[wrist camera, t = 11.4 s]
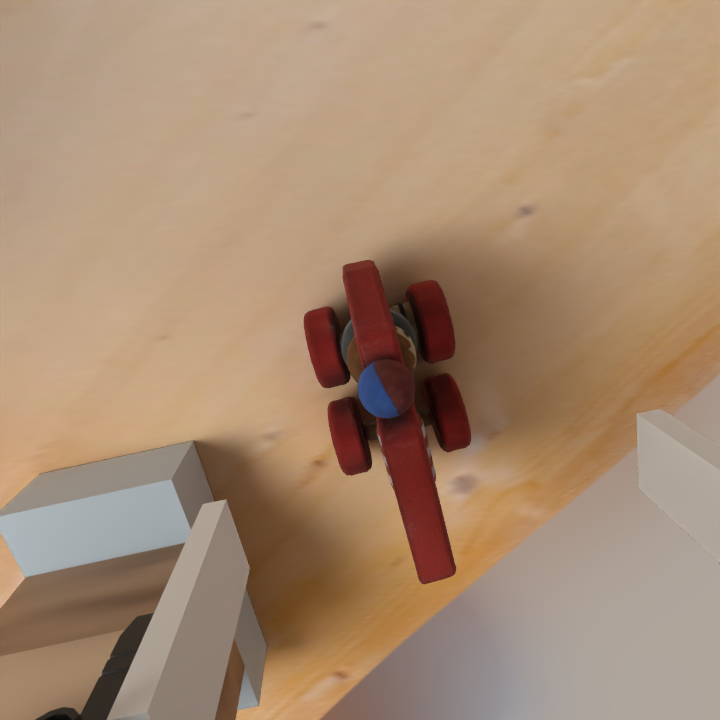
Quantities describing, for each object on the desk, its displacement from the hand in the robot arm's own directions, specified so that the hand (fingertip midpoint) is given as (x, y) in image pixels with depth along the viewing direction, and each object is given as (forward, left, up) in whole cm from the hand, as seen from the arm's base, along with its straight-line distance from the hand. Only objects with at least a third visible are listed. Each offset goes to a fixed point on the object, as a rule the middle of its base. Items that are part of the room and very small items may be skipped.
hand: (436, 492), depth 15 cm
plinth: (+10, -16, -12) cm, 22 cm away
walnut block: (+10, -16, -8) cm, 21 cm away
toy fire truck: (0, 0, -12) cm, 12 cm away
